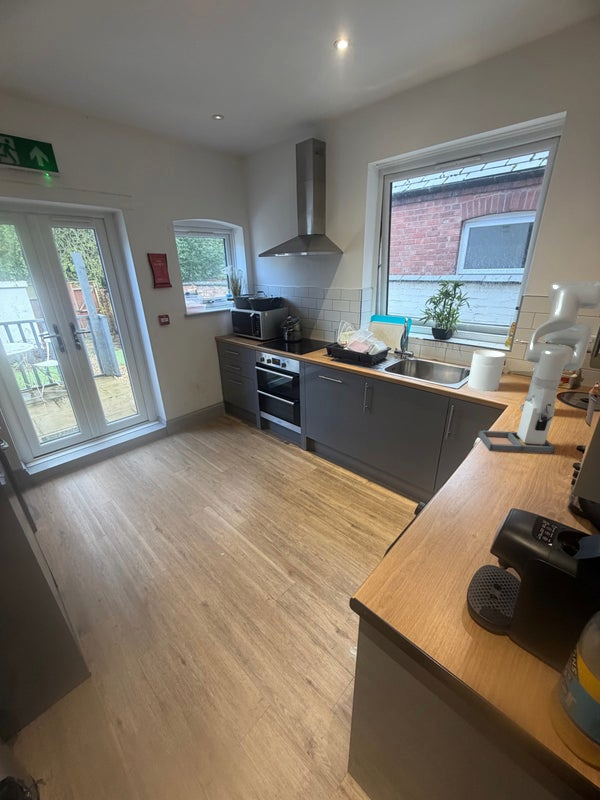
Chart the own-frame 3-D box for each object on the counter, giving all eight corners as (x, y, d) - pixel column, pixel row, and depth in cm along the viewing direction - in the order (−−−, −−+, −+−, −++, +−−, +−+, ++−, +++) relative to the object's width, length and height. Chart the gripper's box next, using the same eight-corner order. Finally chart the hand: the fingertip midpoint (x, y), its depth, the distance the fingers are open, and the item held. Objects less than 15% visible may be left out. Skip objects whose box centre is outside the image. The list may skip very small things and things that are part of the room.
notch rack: (477, 435, 137) (478, 430, 136) (537, 438, 134) (538, 432, 133) (489, 450, 126) (490, 444, 125) (554, 453, 123) (555, 447, 122)
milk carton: (544, 444, 125) (558, 399, 117) (524, 443, 126) (536, 398, 119) (535, 436, 131) (548, 392, 124) (516, 434, 132) (527, 391, 125)
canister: (499, 384, 194) (506, 351, 186) (497, 393, 181) (505, 358, 174) (469, 380, 202) (475, 348, 194) (465, 388, 189) (472, 354, 182)
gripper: (523, 374, 128) (513, 415, 135) (548, 390, 112) (535, 435, 119) (544, 375, 127) (532, 416, 134) (572, 391, 111) (558, 436, 118)
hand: (534, 425), depth 126 cm, fingers closed on milk carton, 7 cm apart
